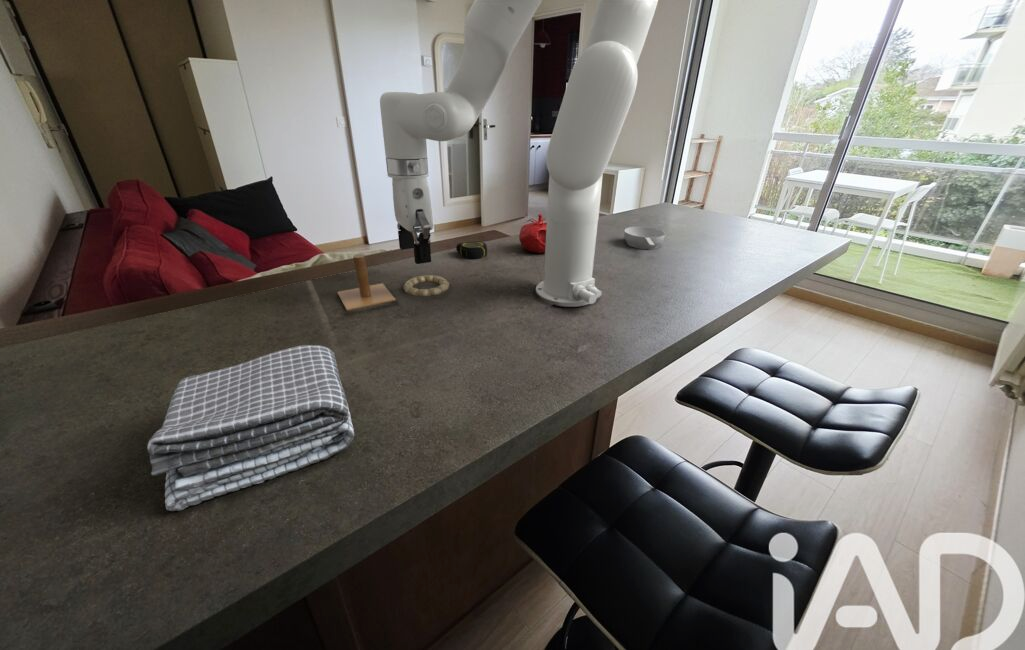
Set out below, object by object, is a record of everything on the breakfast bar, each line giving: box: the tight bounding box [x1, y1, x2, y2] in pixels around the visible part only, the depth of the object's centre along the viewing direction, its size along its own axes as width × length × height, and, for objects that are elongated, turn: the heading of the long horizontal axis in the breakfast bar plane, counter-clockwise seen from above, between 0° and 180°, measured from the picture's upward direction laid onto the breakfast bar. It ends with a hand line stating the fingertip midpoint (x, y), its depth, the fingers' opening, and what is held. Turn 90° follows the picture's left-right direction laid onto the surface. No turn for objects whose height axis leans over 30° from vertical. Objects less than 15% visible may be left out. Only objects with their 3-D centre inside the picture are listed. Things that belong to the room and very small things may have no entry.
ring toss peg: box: [337, 253, 396, 312], centre depth 79 cm, size 9×9×9 cm
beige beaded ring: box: [402, 274, 450, 297], centre depth 85 cm, size 9×9×2 cm
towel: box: [146, 344, 355, 512], centre depth 46 cm, size 15×18×8 cm
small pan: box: [623, 226, 666, 250], centre depth 111 cm, size 11×18×4 cm, turn 172°
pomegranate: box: [518, 213, 547, 254], centre depth 108 cm, size 10×10×9 cm
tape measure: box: [455, 240, 488, 260], centre depth 103 cm, size 7×7×4 cm
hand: (414, 255), depth 86 cm, fingers open, 9 cm apart
